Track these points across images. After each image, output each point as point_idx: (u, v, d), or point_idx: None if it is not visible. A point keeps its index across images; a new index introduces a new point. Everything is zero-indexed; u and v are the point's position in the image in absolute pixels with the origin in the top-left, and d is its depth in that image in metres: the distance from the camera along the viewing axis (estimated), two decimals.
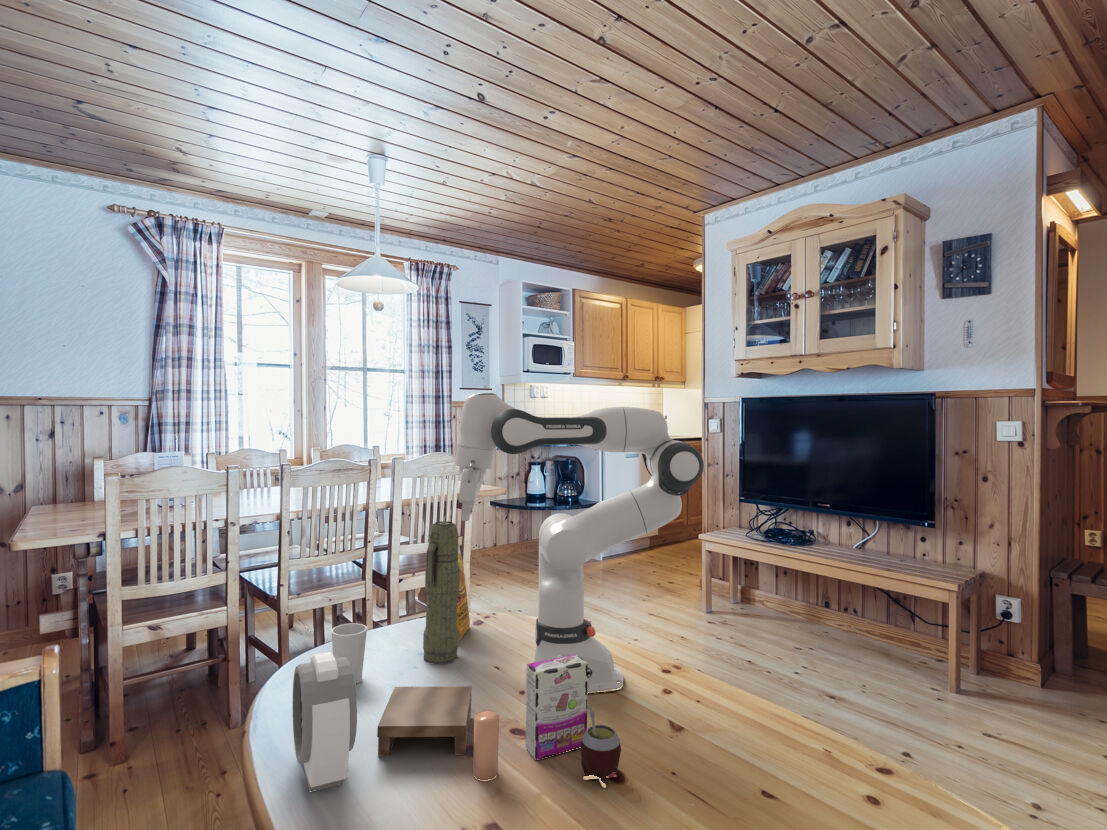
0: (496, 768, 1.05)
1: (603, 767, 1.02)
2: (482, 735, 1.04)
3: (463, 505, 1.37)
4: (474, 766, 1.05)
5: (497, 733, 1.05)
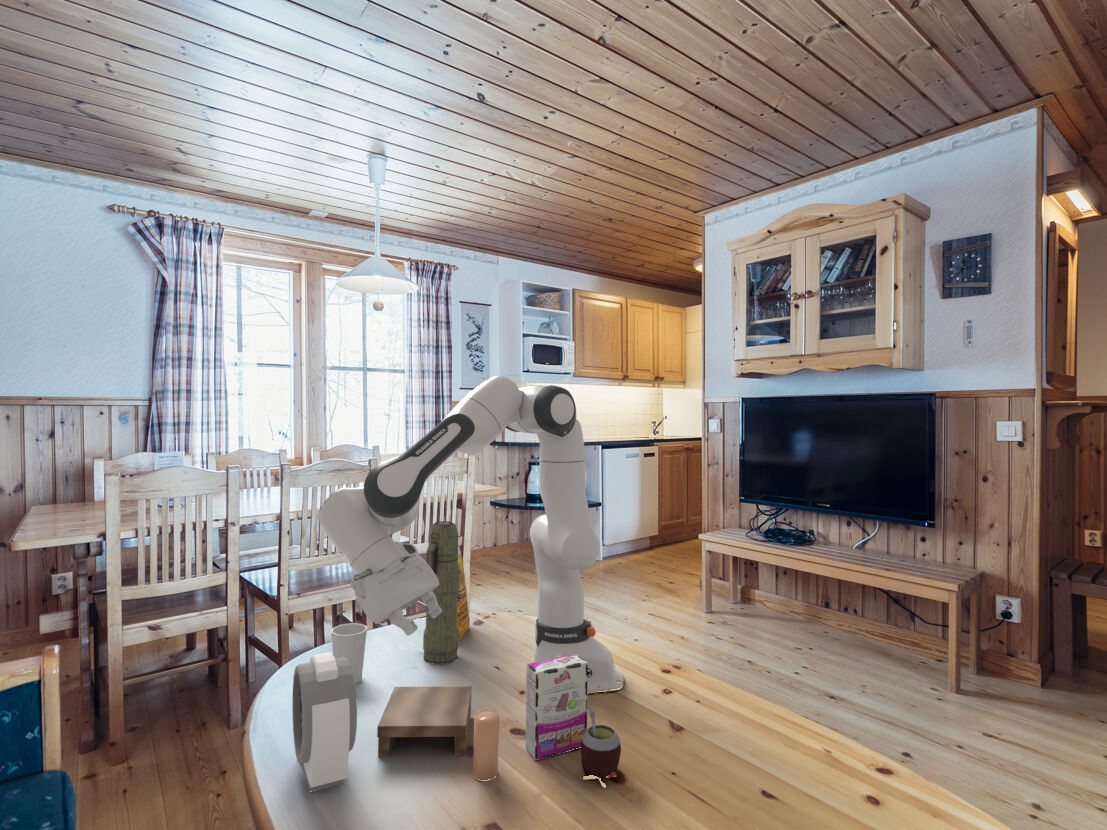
0: (496, 768, 1.05)
1: (603, 767, 1.02)
2: (482, 735, 1.04)
3: (392, 621, 1.04)
4: (474, 766, 1.05)
5: (497, 733, 1.05)
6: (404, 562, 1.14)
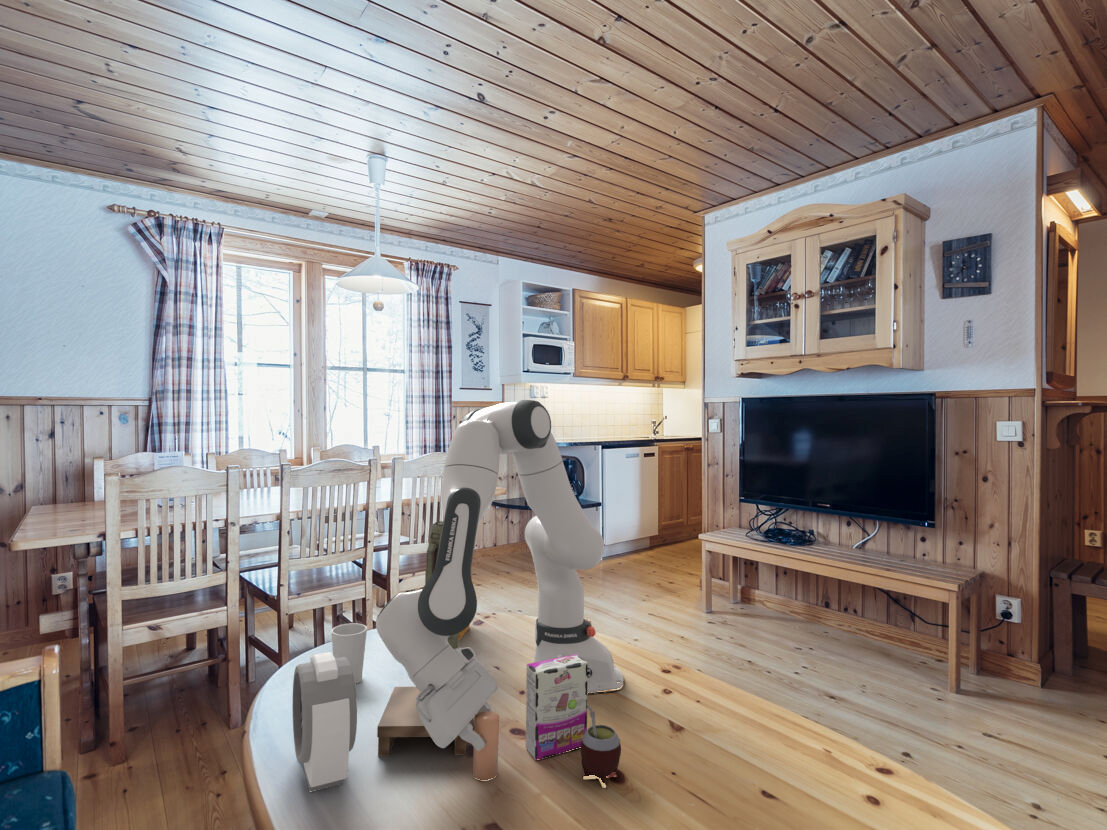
0: (496, 768, 1.05)
1: (603, 767, 1.02)
2: None
3: (462, 736, 1.02)
4: (474, 766, 1.05)
5: (497, 733, 1.05)
6: (463, 670, 1.11)
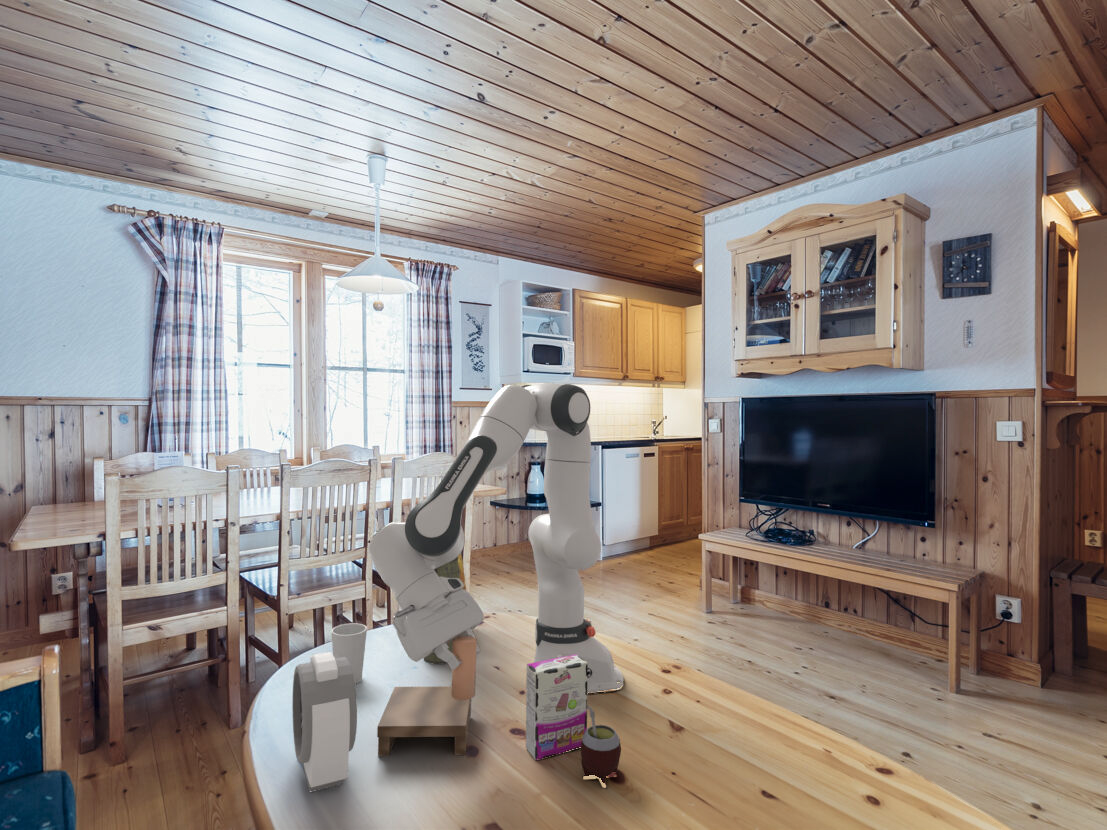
0: (472, 689, 1.10)
1: (603, 767, 1.02)
2: (458, 655, 1.09)
3: (438, 655, 1.08)
4: (452, 685, 1.10)
5: (473, 656, 1.10)
6: (448, 597, 1.16)
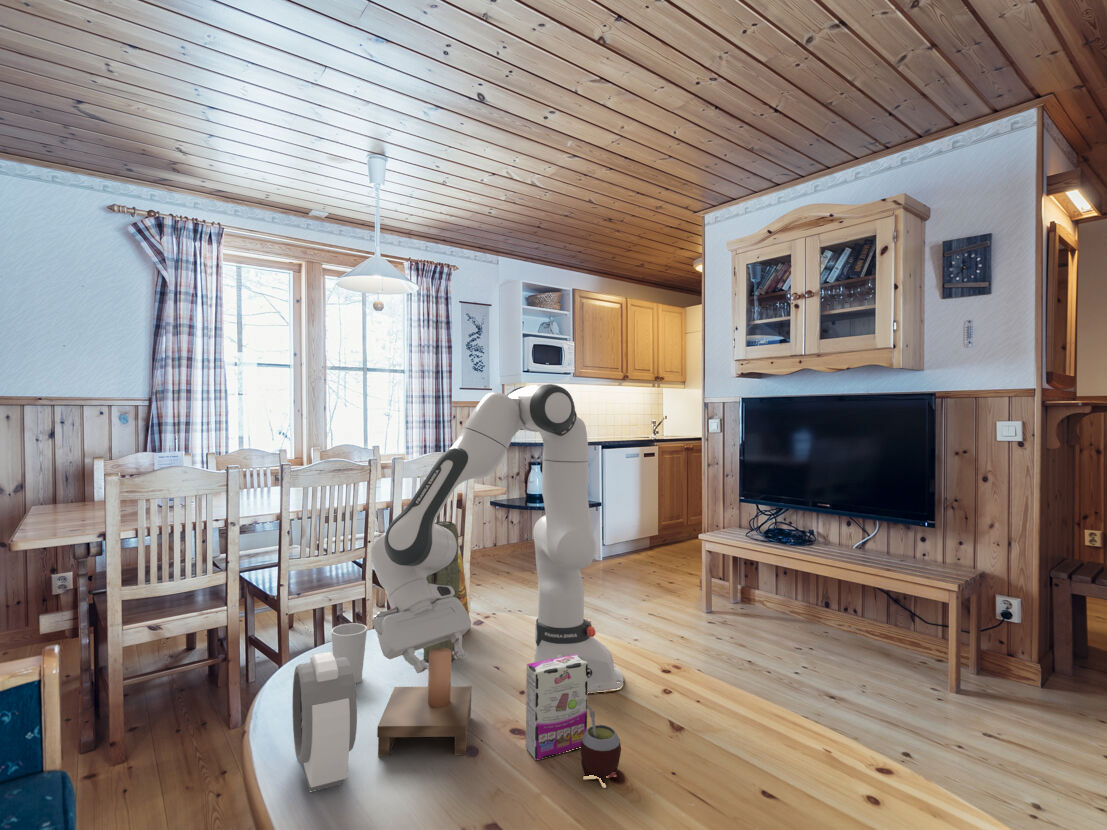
0: (444, 698, 1.18)
1: (603, 767, 1.02)
2: (431, 665, 1.18)
3: (405, 658, 1.16)
4: (428, 692, 1.19)
5: (446, 667, 1.18)
6: (435, 603, 1.26)
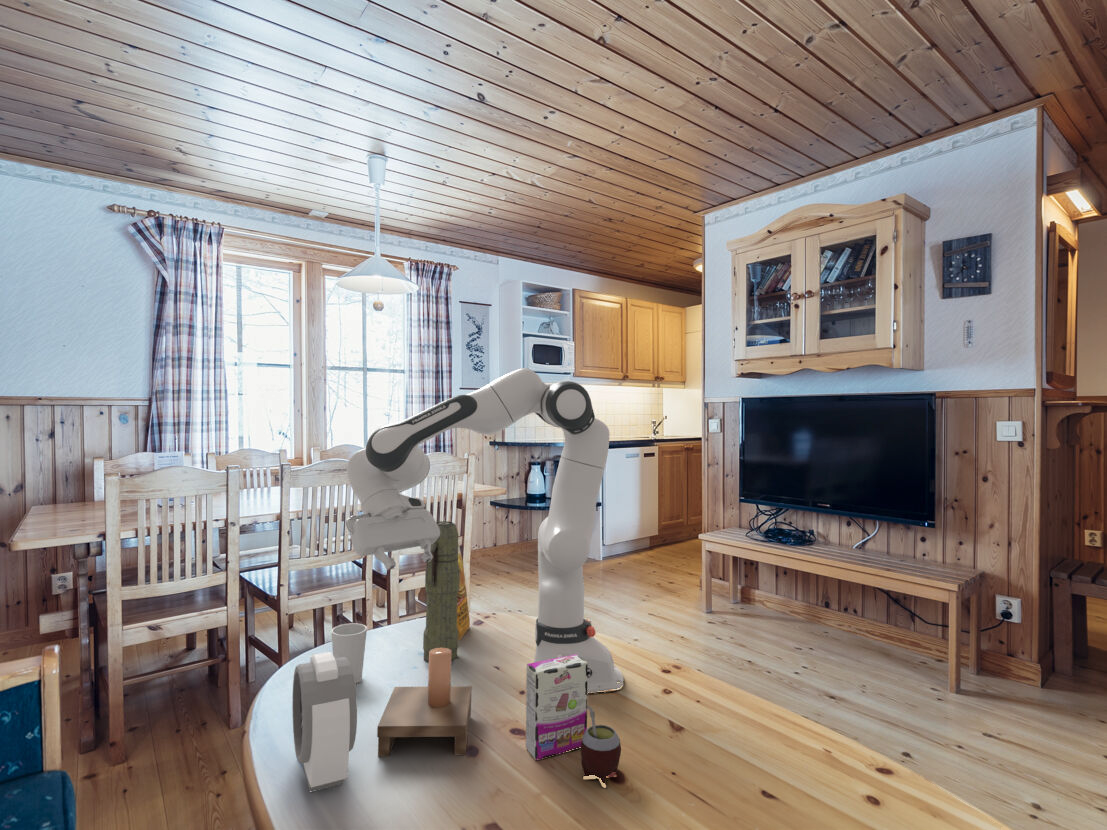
0: (444, 698, 1.18)
1: (603, 766, 1.02)
2: (431, 665, 1.18)
3: (375, 556, 1.25)
4: (428, 692, 1.19)
5: (446, 667, 1.18)
6: (406, 512, 1.34)
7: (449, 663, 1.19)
